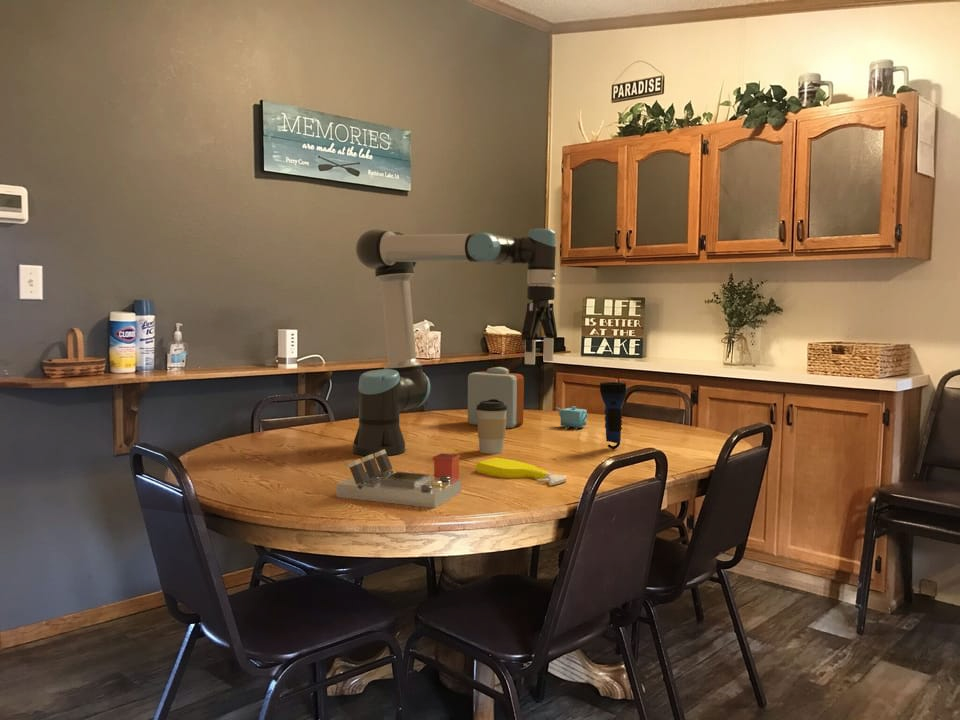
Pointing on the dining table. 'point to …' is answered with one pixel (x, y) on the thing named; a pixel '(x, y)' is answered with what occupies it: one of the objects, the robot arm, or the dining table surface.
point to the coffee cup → (491, 426)
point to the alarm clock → (497, 393)
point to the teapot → (573, 417)
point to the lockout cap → (446, 465)
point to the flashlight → (613, 410)
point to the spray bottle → (516, 470)
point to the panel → (401, 489)
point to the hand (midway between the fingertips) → (539, 362)
